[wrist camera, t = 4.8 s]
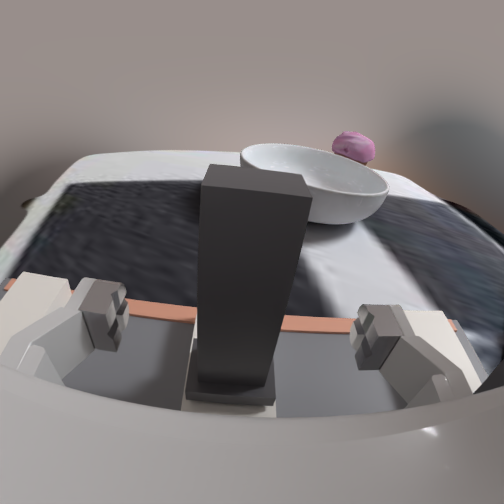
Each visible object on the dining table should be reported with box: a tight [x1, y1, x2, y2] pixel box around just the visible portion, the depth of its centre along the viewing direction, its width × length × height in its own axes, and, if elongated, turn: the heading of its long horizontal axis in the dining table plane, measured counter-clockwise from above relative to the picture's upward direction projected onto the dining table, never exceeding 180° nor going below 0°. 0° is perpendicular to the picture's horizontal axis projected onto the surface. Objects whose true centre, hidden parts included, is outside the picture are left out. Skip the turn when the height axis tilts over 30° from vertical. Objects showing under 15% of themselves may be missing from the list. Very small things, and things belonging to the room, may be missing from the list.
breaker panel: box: [0, 272, 488, 418], centre depth 15 cm, size 14×40×4 cm, turn 90°
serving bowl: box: [240, 144, 389, 224], centre depth 42 cm, size 21×21×7 cm
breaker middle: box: [185, 164, 313, 406], centre depth 11 cm, size 3×4×10 cm
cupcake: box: [332, 131, 375, 166], centre depth 57 cm, size 9×9×10 cm
